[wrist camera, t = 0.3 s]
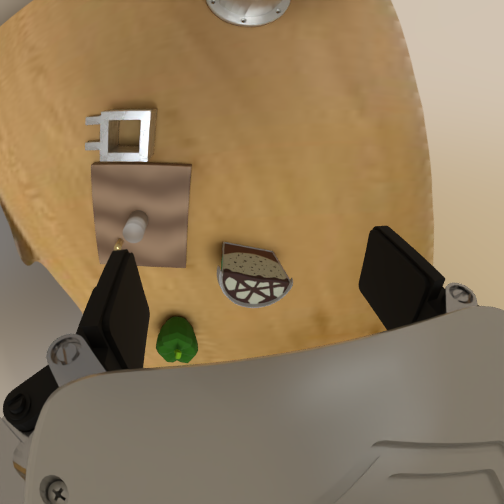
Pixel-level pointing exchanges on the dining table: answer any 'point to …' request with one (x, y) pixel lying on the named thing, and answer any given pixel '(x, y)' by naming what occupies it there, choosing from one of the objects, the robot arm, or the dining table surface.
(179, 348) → the bell pepper
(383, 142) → the dining table surface
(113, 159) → the bracket
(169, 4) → the dining table surface
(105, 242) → the post board
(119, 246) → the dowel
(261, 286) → the food container
